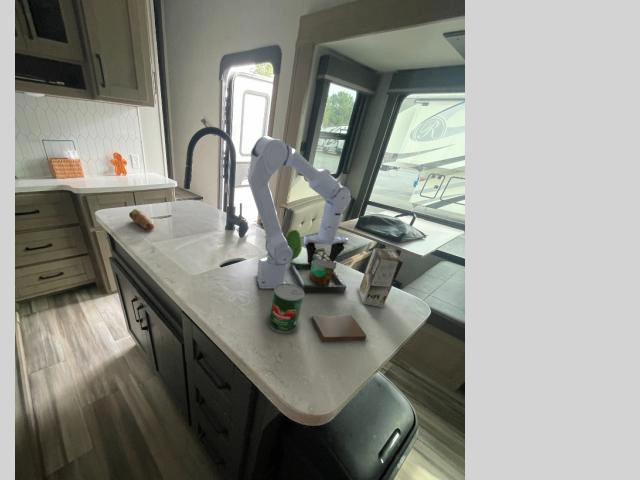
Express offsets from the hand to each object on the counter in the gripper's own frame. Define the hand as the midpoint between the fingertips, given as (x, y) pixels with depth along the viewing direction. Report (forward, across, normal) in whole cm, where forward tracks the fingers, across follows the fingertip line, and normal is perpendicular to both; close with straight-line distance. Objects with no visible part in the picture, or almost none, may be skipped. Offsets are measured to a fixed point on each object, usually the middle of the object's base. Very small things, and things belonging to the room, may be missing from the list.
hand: (319, 263), depth 93 cm
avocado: (+1, -5, +17) cm, 18 cm away
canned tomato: (+7, -18, -24) cm, 31 cm away
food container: (+7, 0, 0) cm, 7 cm away
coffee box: (+7, +15, -12) cm, 20 cm away
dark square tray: (+7, 0, 0) cm, 7 cm away
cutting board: (+7, -3, -27) cm, 28 cm away
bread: (+7, -69, +52) cm, 87 cm away
